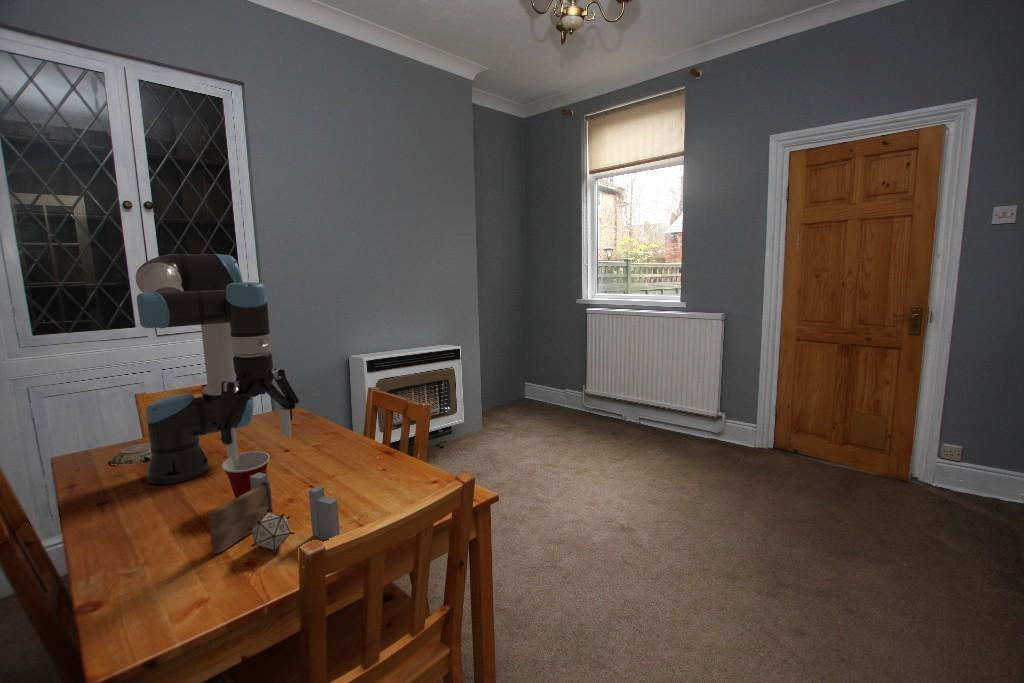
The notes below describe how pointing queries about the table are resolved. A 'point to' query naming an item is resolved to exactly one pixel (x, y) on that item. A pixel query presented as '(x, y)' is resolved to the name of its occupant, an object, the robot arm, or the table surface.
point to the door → (238, 517)
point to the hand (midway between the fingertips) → (261, 445)
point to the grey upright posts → (314, 509)
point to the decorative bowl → (132, 454)
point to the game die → (270, 531)
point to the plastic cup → (245, 470)
